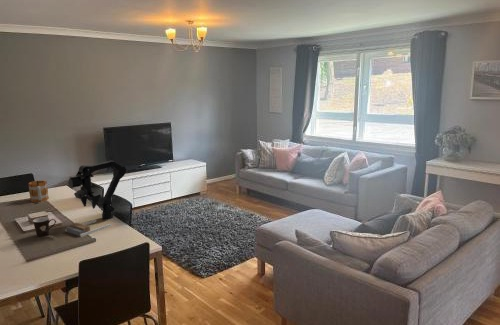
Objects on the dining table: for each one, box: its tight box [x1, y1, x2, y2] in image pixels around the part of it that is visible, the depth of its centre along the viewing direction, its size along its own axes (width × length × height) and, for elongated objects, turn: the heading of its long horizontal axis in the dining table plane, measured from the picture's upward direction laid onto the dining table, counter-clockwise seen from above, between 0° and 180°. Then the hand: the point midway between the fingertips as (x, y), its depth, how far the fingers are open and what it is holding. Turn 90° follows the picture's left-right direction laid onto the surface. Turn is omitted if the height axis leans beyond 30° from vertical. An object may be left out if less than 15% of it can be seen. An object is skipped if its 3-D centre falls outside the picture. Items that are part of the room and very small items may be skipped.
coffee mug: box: [32, 216, 57, 238], centre depth 230 cm, size 12×9×10 cm
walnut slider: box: [70, 222, 91, 233], centre depth 231 cm, size 4×14×4 cm, turn 57°
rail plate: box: [65, 219, 112, 238], centre depth 236 cm, size 21×18×4 cm
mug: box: [27, 179, 50, 203], centre depth 303 cm, size 20×14×15 cm
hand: (89, 207), depth 245 cm, fingers open, 9 cm apart
